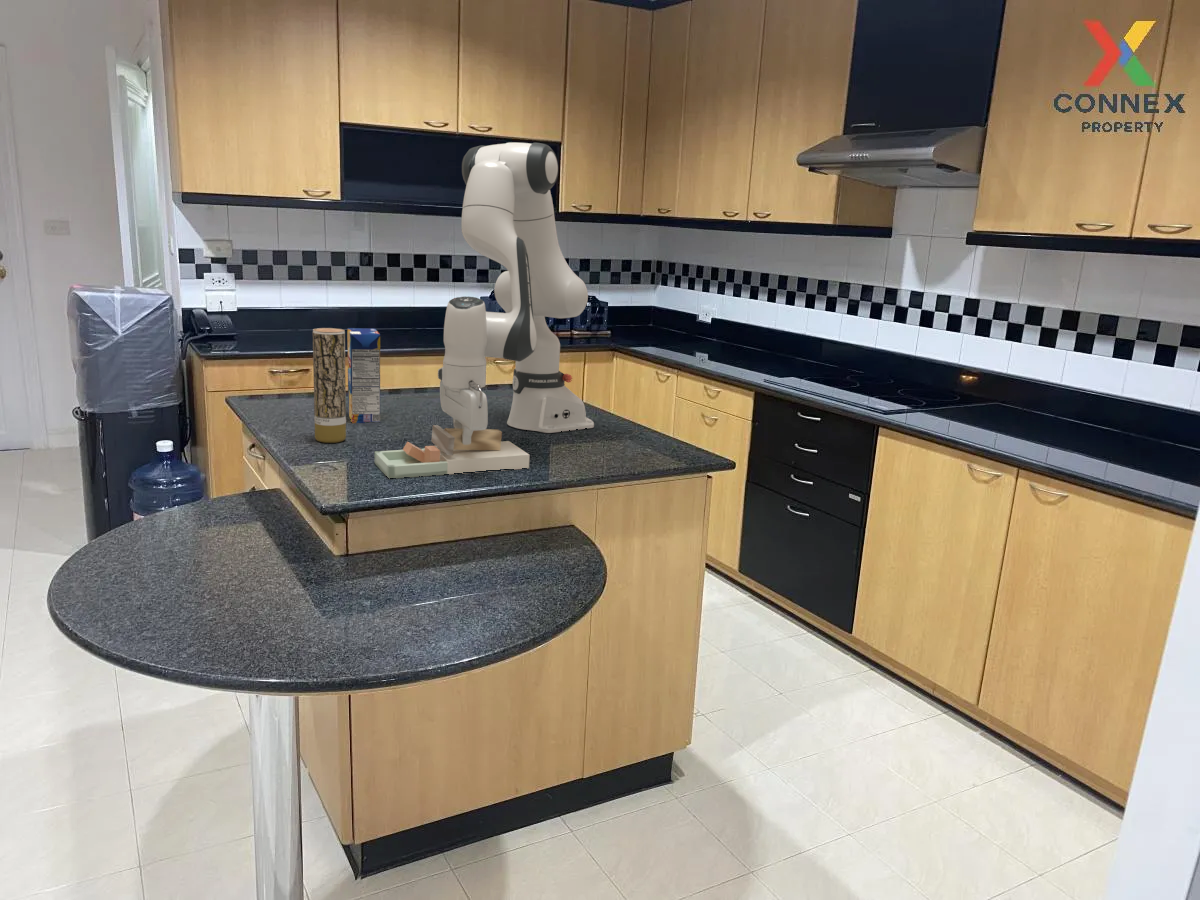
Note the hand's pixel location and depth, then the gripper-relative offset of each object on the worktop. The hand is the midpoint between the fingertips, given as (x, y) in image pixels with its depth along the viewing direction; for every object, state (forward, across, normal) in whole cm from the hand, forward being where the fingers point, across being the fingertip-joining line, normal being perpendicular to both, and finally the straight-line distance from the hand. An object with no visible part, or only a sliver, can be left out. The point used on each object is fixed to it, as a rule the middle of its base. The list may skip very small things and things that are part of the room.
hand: (462, 441), depth 187 cm
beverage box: (+5, +47, +10) cm, 48 cm away
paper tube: (+5, +27, +22) cm, 35 cm away
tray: (+5, 0, +11) cm, 12 cm away
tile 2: (+2, -2, +6) cm, 7 cm away
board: (+5, 0, -4) cm, 6 cm away
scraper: (+2, 0, -1) cm, 2 cm away
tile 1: (+2, +3, +9) cm, 9 cm away
